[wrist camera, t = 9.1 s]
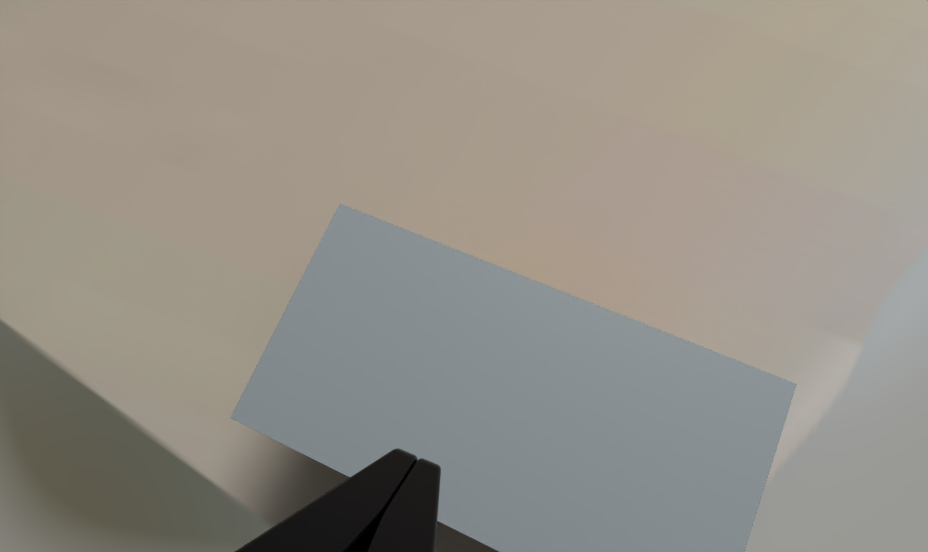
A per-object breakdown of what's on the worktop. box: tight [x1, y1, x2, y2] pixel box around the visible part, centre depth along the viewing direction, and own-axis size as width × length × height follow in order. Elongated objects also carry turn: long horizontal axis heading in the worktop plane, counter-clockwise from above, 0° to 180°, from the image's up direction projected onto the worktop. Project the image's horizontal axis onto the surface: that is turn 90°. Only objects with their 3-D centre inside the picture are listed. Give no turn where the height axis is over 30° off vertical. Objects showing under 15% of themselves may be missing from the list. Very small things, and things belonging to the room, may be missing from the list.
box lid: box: [230, 204, 796, 552], centre depth 15 cm, size 6×13×1 cm, turn 66°
